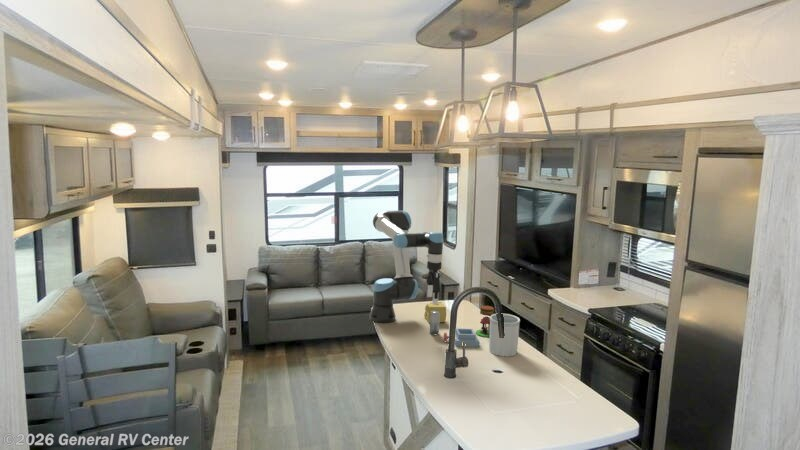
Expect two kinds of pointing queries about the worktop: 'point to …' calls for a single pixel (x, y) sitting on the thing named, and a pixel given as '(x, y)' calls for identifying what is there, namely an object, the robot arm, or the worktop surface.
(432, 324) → the pipe stub
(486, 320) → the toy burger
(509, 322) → the utensil holder
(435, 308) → the cheese
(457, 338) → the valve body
